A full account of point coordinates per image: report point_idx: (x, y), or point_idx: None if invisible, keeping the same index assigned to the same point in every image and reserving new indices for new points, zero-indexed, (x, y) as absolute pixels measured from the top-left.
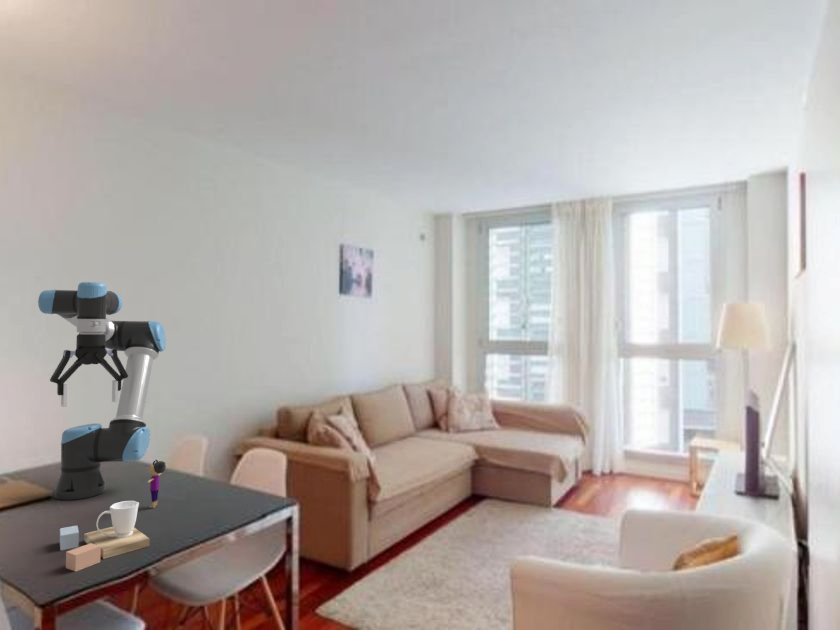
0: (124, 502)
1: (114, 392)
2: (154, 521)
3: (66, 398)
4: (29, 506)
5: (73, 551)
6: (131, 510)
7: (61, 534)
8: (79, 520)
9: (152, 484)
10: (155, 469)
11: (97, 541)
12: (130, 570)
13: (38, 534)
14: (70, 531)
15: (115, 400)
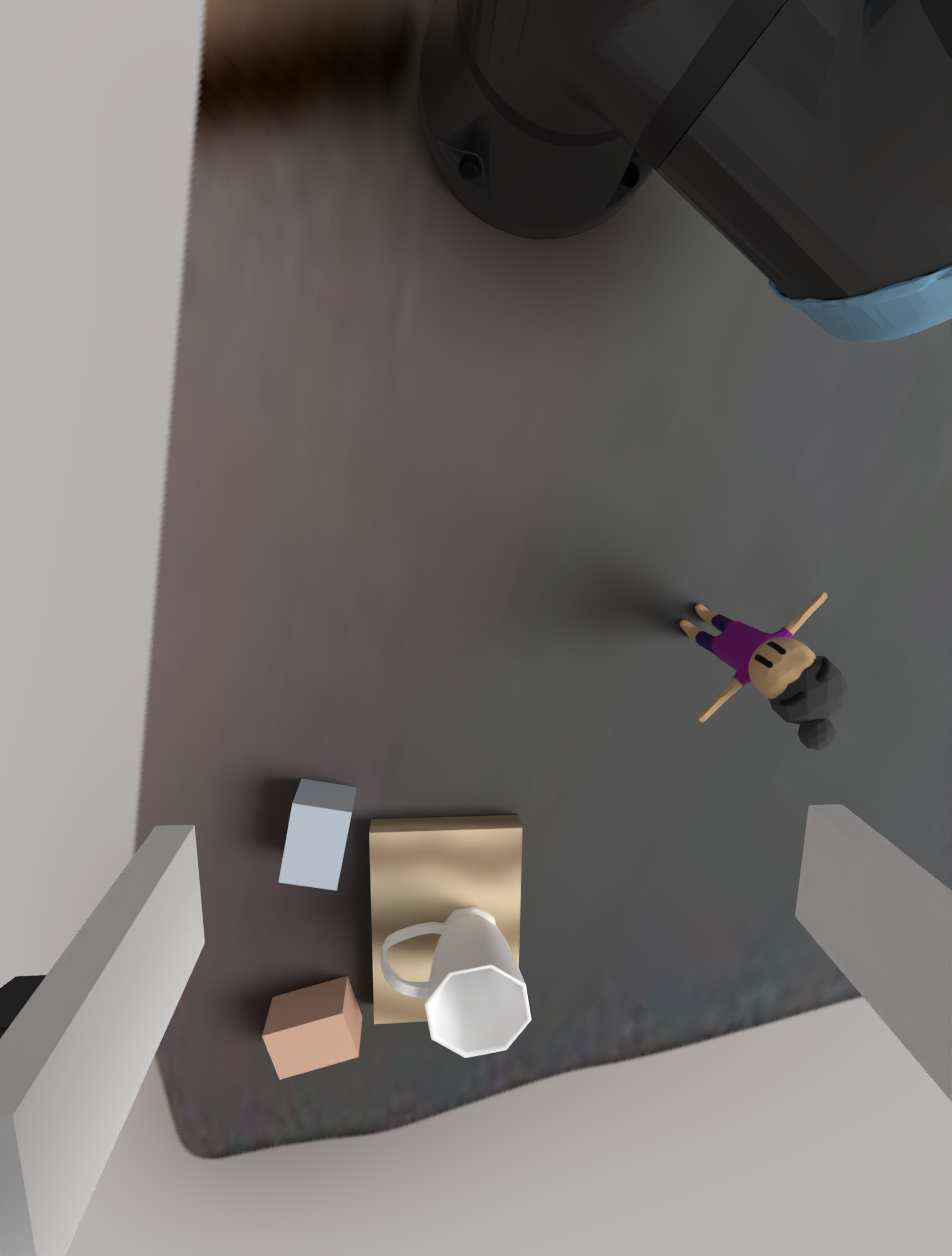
0: (493, 968)
1: (884, 989)
2: (622, 792)
3: (160, 1035)
4: (289, 160)
5: (281, 1046)
6: (488, 1039)
7: (283, 871)
8: (418, 574)
9: (729, 664)
10: (773, 708)
11: (382, 935)
12: (408, 1120)
13: (257, 633)
14: (315, 861)
15: (815, 929)
